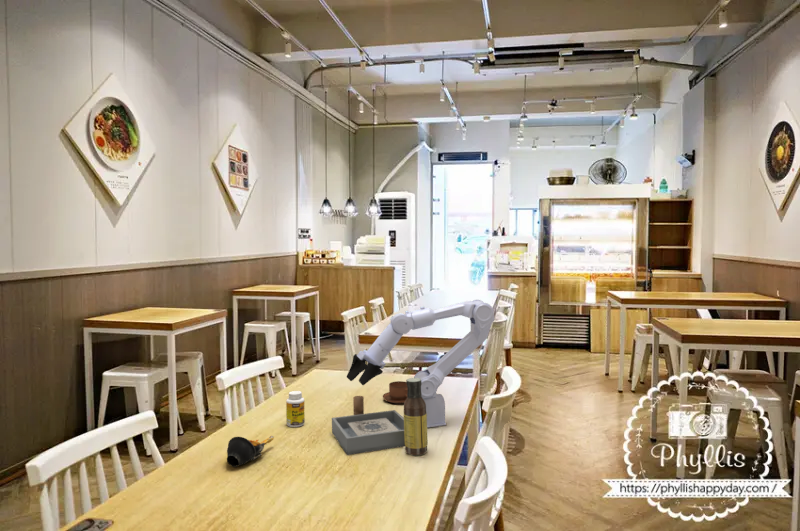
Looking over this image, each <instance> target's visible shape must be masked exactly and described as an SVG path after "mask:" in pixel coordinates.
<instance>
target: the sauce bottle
mask: <svg viewBox="0 0 800 531" xmlns="http://www.w3.org/2000/svg"><path fill="white" fill-rule="evenodd" d="M405 382H406V384H407V391H408V393H407V395H408V396H407V399H406V401H405V403H403V418H404V438H405V447H404V449H405V450H404V451H405V452H406V454H408V455H411V456H415V457H416V456H417V457H418V456H422V455H425V454H427V452H428V441H429V440H428V428H427V413H426V404H425V401H424V400H423V398H422V397H421V396H422V393H421V384H422V383H421V379H420V378H414V377H409V378H407V379H406V381H405Z"/></svg>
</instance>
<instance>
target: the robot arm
mask: <svg viewBox="0 0 800 531" xmlns="http://www.w3.org/2000/svg"><path fill="white" fill-rule="evenodd" d="M404 311H405V310H404ZM459 316H462V317H465V318H469V320H470V331H469V332H468V333H467V334H466V335H464V336H463V337H462V338H461V339H460V340H459V341H458V342H457V343H455V345H454V346H452V348H450V349H449V350H448V351H447V352H446V353H445V354H443V356H442V357H440V359H438V360H437V361H436V362H435V363H433V364H432V365H430V366H428V367H426V369H424V370H420V371H418V372H416V374H415V375H414V377H413V378H420V379H421V383H422V384H421V393H422V396H421V397H422V398H423V400H424V401H425V404H426V413H427V429H429V428H433V427H442V426H446V425H447V423H446V403H445V402H446V401H445V398H444V396H443V395H442V394H441V393H437V392H438V389H439V387H440V386H441V385H442V384H443V383H444V380H445V378H446V377H447V376H448V375H449V374H450V373H451V372H452V371H453V370H454V369H455V368H457V367H458V366H459V364H461V363H463V361H464V360H465V359H467V358H468V357H469V355H471V354H472V353H473V352H474V351H475V350H476V349H478V348H479V347H480V346H481V345H482V344H483V343H484V342H485V341H486V340H487V339H488V336H489V334H490V330H491V328H492V324H493V322H495V313H494V308H493V306H492V305H491V304H489V303H488V302H484V301H483V300H481V299H474V300H466V301H461V302H457V303H454V304H450V305H447V306H444V307H439V308H436V309H431V308H430V307H429V306H427V307H425V306H424V305H423V306H420V307H419V308H418V309H415V310H411V311H409V310H406V311H405V313H402V312H398V313H395V314H394V315H392V316H391V319H390V322H389V324H387V326H386V327H385V328H384V329H383V331H382V332H381V333H380V334H379V335H378V336H377V338H376V339H375V341H373V342H372V344H371V346H370V347H369V348H368V349H367V350H366V349H363V351H362V350H360V351H359V352H358V353H355V354H354V355H353V357H352V362H351V366H350V368H349V371H348V372H347V375H346V378H347V379H348V381H350V382H353V381H354V380H355V379H356V378H357V377H358V376H359V375H360V374H361V373H362V374H361V375H360V377H359V379H358V382H359V383H360V384H361V385H362V386H365V385H366V384H367V383H369V382H370V381H371V380H372V379H374V378H375V377H378V376H379V375H382V374H383V372H384V371H383V369H384V367H385V366H386V363H385V361H384V360H385V359H386V358H387V356H389V354H390V353H391V351H392V350H394V347H395V346H397V344H398V343H399V341H400V340H401V338H402V337H403V335H406V334H408V333H409V332H410V331H411V330H413V331H414V330H418V329H422V328H426V327H431V326H433V325H434V323H435V322H436V321H439V320H443V319H449V318H454V317H459ZM366 362H367V363H366Z"/></svg>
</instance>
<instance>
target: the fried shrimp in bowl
mask: <svg viewBox="0 0 800 531" xmlns="http://www.w3.org/2000/svg"><path fill="white" fill-rule="evenodd" d="M274 439H275V436H273V435H270V436H269V437H267V438H266V439H264V440H262V441H260V442H259V439H255V440H252V439H247V438H245V437H242V436H234V437H231V439H229V441H228V445H227V450H226V454H227V458H226V463H227V464H228V466H231V467H232V468H237V467H239V466H242V465H245V464H247V463H249V462H250V461H255V460H257V459H258V458H260V457H261V456H262V455H263V454H262V452H263V451H264V449H265V445H267V444H269V443H271V442H272V441H273V440H274Z"/></svg>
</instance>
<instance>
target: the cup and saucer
mask: <svg viewBox="0 0 800 531" xmlns="http://www.w3.org/2000/svg"><path fill="white" fill-rule="evenodd" d="M388 387H389V388H388V390H389V391H388V392H385V393H384V394H383V395H382V399H384V401H385V402H389V403H390V404H391V403H392V404H404V403H405V401H406V399H407V396H408V395H407V393H408V391H407V384H406V381H402V380H401V381H399V380H397V381H392V382H390V383H389V385H388Z"/></svg>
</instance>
